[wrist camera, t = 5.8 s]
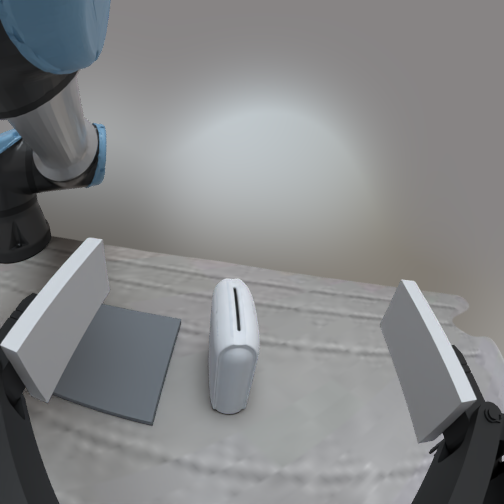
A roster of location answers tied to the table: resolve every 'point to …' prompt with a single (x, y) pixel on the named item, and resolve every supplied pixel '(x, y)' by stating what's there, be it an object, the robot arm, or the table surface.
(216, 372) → the photo printer
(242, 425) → the table surface
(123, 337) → the rubber mat
